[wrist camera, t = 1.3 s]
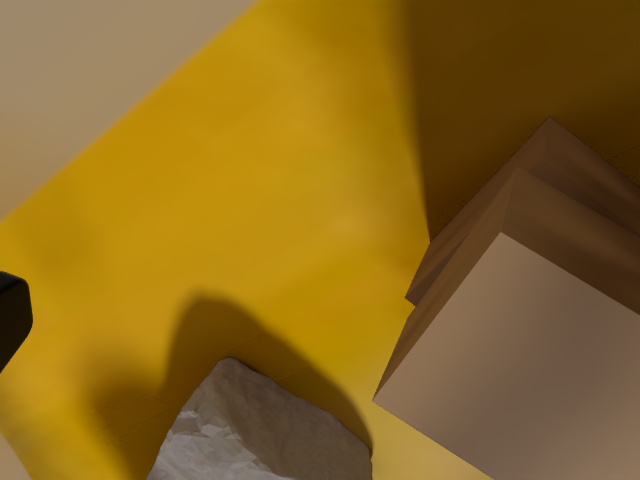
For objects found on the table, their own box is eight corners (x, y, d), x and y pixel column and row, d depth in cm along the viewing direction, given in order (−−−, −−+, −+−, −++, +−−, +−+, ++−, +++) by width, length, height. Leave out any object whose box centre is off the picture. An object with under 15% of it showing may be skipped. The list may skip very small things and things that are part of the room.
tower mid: (726, 288, 15) (765, 390, 12) (575, 422, 19) (574, 531, 15) (517, 165, 16) (500, 231, 13) (407, 317, 19) (371, 401, 16)
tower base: (703, 235, 19) (728, 303, 16) (560, 342, 22) (556, 418, 19) (549, 114, 19) (543, 157, 16) (430, 240, 22) (404, 297, 19)
